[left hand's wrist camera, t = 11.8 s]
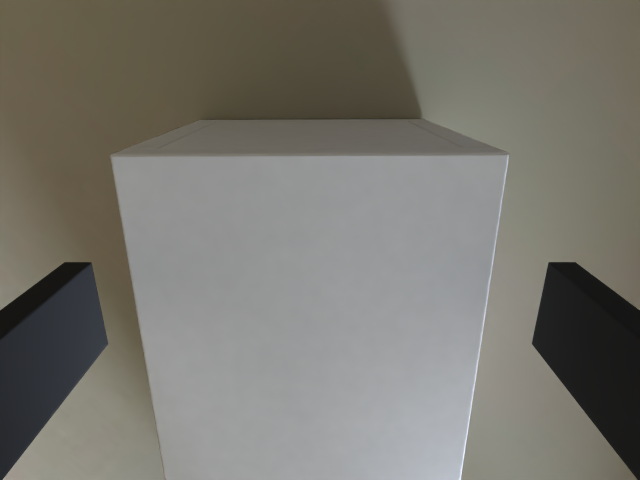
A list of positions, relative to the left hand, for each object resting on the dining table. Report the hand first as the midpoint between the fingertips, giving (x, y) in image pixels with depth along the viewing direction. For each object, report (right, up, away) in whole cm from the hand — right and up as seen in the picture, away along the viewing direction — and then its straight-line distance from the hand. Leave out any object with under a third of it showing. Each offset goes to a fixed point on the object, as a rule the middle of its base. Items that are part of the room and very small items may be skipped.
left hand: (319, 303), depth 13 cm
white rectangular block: (0, -2, +13) cm, 13 cm away
